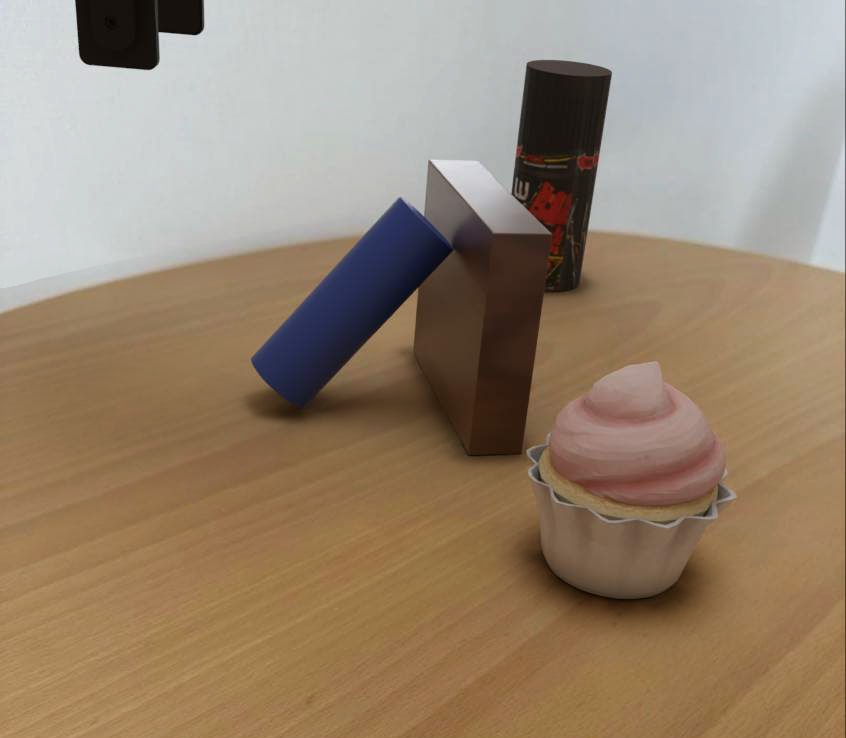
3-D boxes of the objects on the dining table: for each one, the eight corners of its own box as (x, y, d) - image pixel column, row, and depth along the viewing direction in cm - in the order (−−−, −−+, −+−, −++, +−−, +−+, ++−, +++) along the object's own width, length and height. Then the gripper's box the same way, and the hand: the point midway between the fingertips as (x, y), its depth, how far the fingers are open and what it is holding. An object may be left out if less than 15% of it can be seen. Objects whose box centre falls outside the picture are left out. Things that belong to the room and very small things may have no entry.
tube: (254, 419, 63) (257, 204, 57) (247, 388, 66) (249, 182, 60) (443, 416, 66) (466, 210, 59) (428, 387, 69) (448, 189, 63)
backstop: (468, 455, 61) (493, 233, 55) (412, 352, 73) (428, 159, 67) (522, 453, 62) (552, 234, 56) (458, 352, 74) (478, 160, 67)
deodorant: (594, 280, 88) (628, 71, 80) (551, 297, 84) (582, 79, 76) (530, 260, 91) (557, 57, 83) (486, 275, 87) (509, 63, 79)
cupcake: (748, 616, 50) (806, 408, 45) (544, 628, 48) (580, 412, 43) (667, 509, 58) (709, 321, 53) (489, 515, 56) (514, 320, 51)
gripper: (88, -411, 50) (113, 15, 59) (-66, -514, 36) (-2, 74, 45) (260, -395, 50) (259, 28, 59) (177, -491, 36) (192, 91, 45)
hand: (147, 47), depth 52 cm, fingers open, 9 cm apart
